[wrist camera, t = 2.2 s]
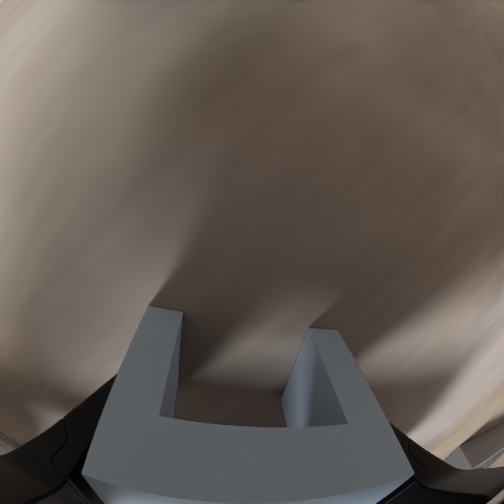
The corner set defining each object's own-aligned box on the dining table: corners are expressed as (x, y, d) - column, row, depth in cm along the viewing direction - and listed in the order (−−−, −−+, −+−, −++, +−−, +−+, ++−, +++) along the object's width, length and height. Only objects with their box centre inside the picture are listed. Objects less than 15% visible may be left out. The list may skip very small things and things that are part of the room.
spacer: (307, 399, 11) (343, 523, 5) (149, 383, 10) (118, 519, 4) (338, 329, 10) (414, 473, 4) (148, 305, 9) (81, 473, 3)
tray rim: (455, 475, 26) (462, 489, 22) (387, 505, 24) (394, 523, 20) (515, 414, 21) (526, 429, 17) (459, 446, 18) (472, 468, 15)
